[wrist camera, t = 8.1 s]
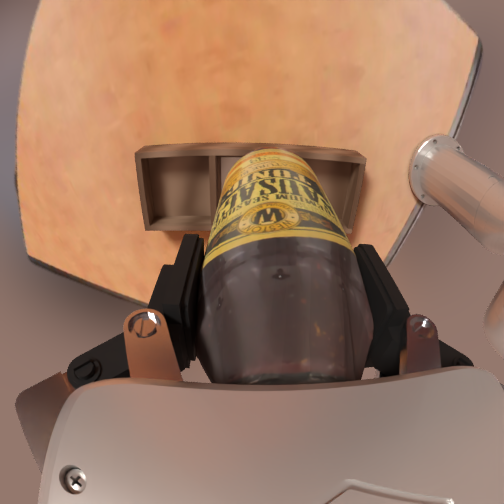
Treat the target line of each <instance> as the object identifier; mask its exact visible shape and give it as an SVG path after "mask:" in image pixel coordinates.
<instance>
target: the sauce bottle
mask: <svg viewBox="0 0 504 504" xmlns="http://www.w3.org/2000/svg"><path fill="white" fill-rule="evenodd" d="M373 330H374V324H373V317H372V313H371V309H370V305H369V302H368V298H367V294H366V291H365V287H364V283H363V280H362V276H361V273H360V269H359V266H358V262H357V258H356V255H355V253H354V251H353V248H352V246H351V244H350V242H349V240H348V238H347V235H346V233H345V231H344V229H343V227H342V225H341V223H340V221H339V219H338V217H337V215H336V213H335V211H334V209H333V207H332V205H331V203H330V201H329V200H328V198H327V196H326V194H325V192H324V190H323V188H322V186H321V184H320V182H319V180H318V179H317V177H316V175H315V173H314V172H313V170H312V169H311V167H310V166H309V165H308V164H307V163H306V162H305V161H304V160H303V159H302V158H300V157H299V155H297V154H296V153H294V152H291V151H289V150H286V149H282V148H277V147H261V148H259V149H256V150H254V151H252V152H250V153H247V154H246V155H245V156H243V157H242V158H241V159H239V160H238V161H237V162H236V163H235V164H234V165H233V167H232V168H231V170H230V171H229V173H228V175H227V177H226V179H225V182H224V186H223V189H222V193H221V196H220V200H219V204H218V207H217V211H216V215H215V219H214V222H213V226H212V229H211V233H210V237H209V241H208V244H207V248H206V252H205V255H204V259H203V263H202V267H201V271H200V275H199V285H198V300H197V317H196V336H195V351H196V356H197V358H198V359H199V361H200V363H201V365H202V367H203V369H204V371H205V373H206V374H207V376H208V378H209V379H210V381H211V383H215V384H236V385H298V384H320V383H334V382H346V381H357V380H361V377H362V374H363V370H364V367H365V363H366V359H367V355H368V351H369V347H370V344H371V341H372V339H373Z"/></svg>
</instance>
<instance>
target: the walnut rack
mask: <svg viewBox="0 0 504 504" xmlns="http://www.w3.org/2000/svg"><path fill="white" fill-rule="evenodd" d="M261 147H277V148H282V149H286V150H289V151H291V152H294V153H296V154H297V155H299V157H300V158H302V159H303V160H304V161H305V162H306V163H307V164H308V165H309V166H310V167H311V169H312V170H313V172H314V173H315V175H316V177H317V179H318V180H319V182H320V184H321V186H322V188H323V190H324V192H325V194H326V196H327V198H328V200H329V201H330V203H331V205H332V207H333V209H334V211H335V213H336V215H337V217H338V219H339V221H340V223H341V225H342V227H343V229H344V231H345V233H346V234H352V229H353V225H354V221H355V216H356V211H357V207H358V202H359V197H360V192H361V187H362V181H363V176H364V170H365V165H366V158H365V157H364V156H362V155H361V154H360V153H358V152H357V151H353V150H345V149H336V148H326V147H316V146H303V145H288V144H269V143H185V144H166V145H151V146H144V147H142V148H141V149H140V150H138V151H137V152H136V153H135V162H136V171H137V179H138V186H139V194H140V201H141V207H142V213H143V220H144V225H145V231H211V229H212V226H213V222H214V219H215V215H216V211H217V207H218V204H219V200H220V196H221V193H222V189H223V186H224V182H225V179H226V177H227V175H228V173H229V171H230V170H231V168H232V167H233V165H234V164H235V163H236V162H237V161H238V160H239V159H241V158H242V157H243V156H245V155H246V154H247V153H250V152H252V151H254V150H256V149H259V148H261Z"/></svg>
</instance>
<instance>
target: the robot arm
mask: <svg viewBox="0 0 504 504" xmlns="http://www.w3.org/2000/svg"><path fill="white" fill-rule="evenodd" d="M409 182H410V186H411V189H412V191H413V193H414V194H415V196H416V197H417V198H418V199H419V200H420V201H422V202H423V203H425V204H427V205H430V206H441V207H442V208H443V209H444V210H445V211H447V212H448V213H449V214H450V215H451V216H452V217H453V218H454V219H456V220H457V221H458V222H459V223H460V224H461V225H462V226H463V227H464V228H465V229H466V230H467V231H468V232H469V233H470V234H471V235H472V236H473V237H474V238H475V239H476V240H477V241H478V242H479V243H480V244H481V245H482V246H483V247H484V248H486V249H487V250H488V251H490V252H492V253H495V254H499V255H504V177H502V176H501V175H500V174H498V173H496V172H495V171H493V170H491V169H490V168H488V167H486V166H485V165H483V164H481V163H480V162H478V161H476V160H474V159H473V158H471V157H469V156H467V155H465V154H464V151H463V149H462V147H461V146H460V144H459V143H458V142H457V141H456V140H455V139H453V138H451V137H449V136H446V135H442V134H437V135H432V136H430V137H428V138H426V139H425V140H424V141H423V142H421V144H420V145H419V146H418V147H417V149H416V150H415V152H414V154H413V156H412V159H411V162H410V166H409ZM353 251H354V253H355V255H356V258H357V262H358V266H359V269H360V273H361V276H362V280H363V283H364V287H365V291H366V294H367V298H368V302H369V305H370V309H371V313H372V317H373V324H374V330H373V339H372V341H371V344H370V347H369V351H368V355H367V359H366V363H365V367H364V368H366V367H374V368H375V369H376V371H375V378H374V379H366V380H357V381H346V382H334V383H320V384H298V385H236V384H215V383H198V382H184V381H183V378H182V375H181V371H183V370H184V369H185V368H189V366H190V360H192V361H195V359H196V351H195V336H196V317H197V300H198V285H199V275H200V271H201V267H202V263H203V259H204V239H203V238H199V235H198V234H185V235H184V237H183V240H182V243H181V246H180V249H179V251H178V254H177V257H176V260H175V263H174V265H165V264H164V265H163V267H162V269H161V272H160V274H159V277H158V280H157V282H156V285H155V288H154V291H153V294H152V296H151V299H150V302H149V305H148V308H147V309H140V310H137V311H135V312H133V313H132V314H130V315H129V316H128V317H127V318H126V320H125V322H124V326H123V330H124V332H123V333H121V334H119V335H117V336H116V337H114V338H112V339H110V340H108V341H106V342H104V343H103V344H101V345H99V346H97V347H95V348H93V349H91V350H89V351H87V352H85V353H84V354H82V355H80V356H78V357H76V358H75V359H74V360H73V361H72V362H71V363H70V364H69V367H68V369H67V372H65V373H63V374H62V373H61V372H58V373H56V374H54V375H53V376H51V377H49V378H47V379H45V380H43V381H41V382H39V383H38V384H35V385H33V386H31V387H30V388H28V389H26V390H24V391H22V392H21V393H20V394H19V395H18V397H17V399H16V403H15V407H16V412H17V415H18V418H19V421H20V424H21V427H22V429H23V432H24V435H25V437H26V440H27V442H28V445H29V447H30V449H31V452H32V454H33V456H34V459H35V461H36V463H37V465H38V467H39V469H40V471H41V473H42V479H41V485H40V491H39V499H38V504H504V385H502V384H501V383H499V382H498V380H497V378H496V377H495V376H494V375H493V374H492V373H491V372H489V371H487V370H485V369H482V368H478V367H474V365H473V363H472V361H471V360H470V359H469V358H468V357H466V356H465V355H463V354H462V353H460V352H458V351H457V350H455V349H454V348H452V347H450V346H448V345H447V344H445V343H444V342H442V341H440V340H439V339H438V331H437V328H436V326H435V324H434V323H433V322H432V321H431V320H430V319H429V318H427V317H426V316H423V315H420V314H414V315H410V313H409V307H408V305H407V304H406V302H405V300H404V298H403V296H402V294H401V293H400V291H399V289H398V287H397V286H396V284H395V282H394V280H393V278H392V277H391V275H390V273H389V272H388V270H387V268H386V266H385V265H384V263H383V261H382V260H381V258H380V257H379V255H378V253H377V252H376V250H375V248H374V247H373V246H372V245H368V244H359V245H358V247H355V248H354V250H353ZM483 329H484V333H485V336H486V338H487V340H488V342H489V343H490V345H491V346H492V347H493V349H494V350H495V351H496V352H497V353H498V354H499V355H500V356H501V357H502V358H503V359H504V281H503V283H502V284H501V286H500V288H499V289H498V291H497V293H496V294H495V296H494V298H493V299H492V301H491V303H490V305H489V306H488V308H487V310H486V312H485V315H484V319H483Z"/></svg>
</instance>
